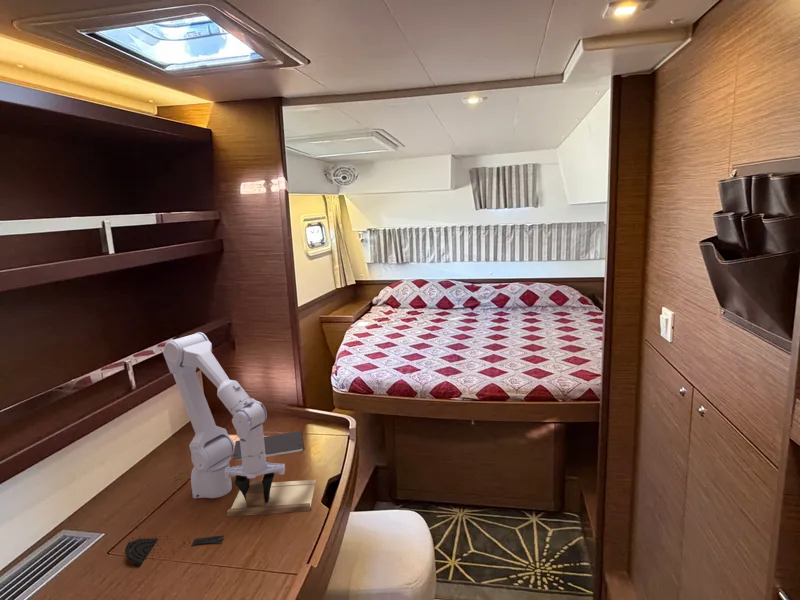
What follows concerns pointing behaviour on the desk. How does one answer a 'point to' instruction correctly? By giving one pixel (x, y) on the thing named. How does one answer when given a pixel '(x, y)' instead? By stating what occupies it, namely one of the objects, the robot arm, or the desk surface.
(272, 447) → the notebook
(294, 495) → the plywood board
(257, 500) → the marking gauge
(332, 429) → the desk surface
